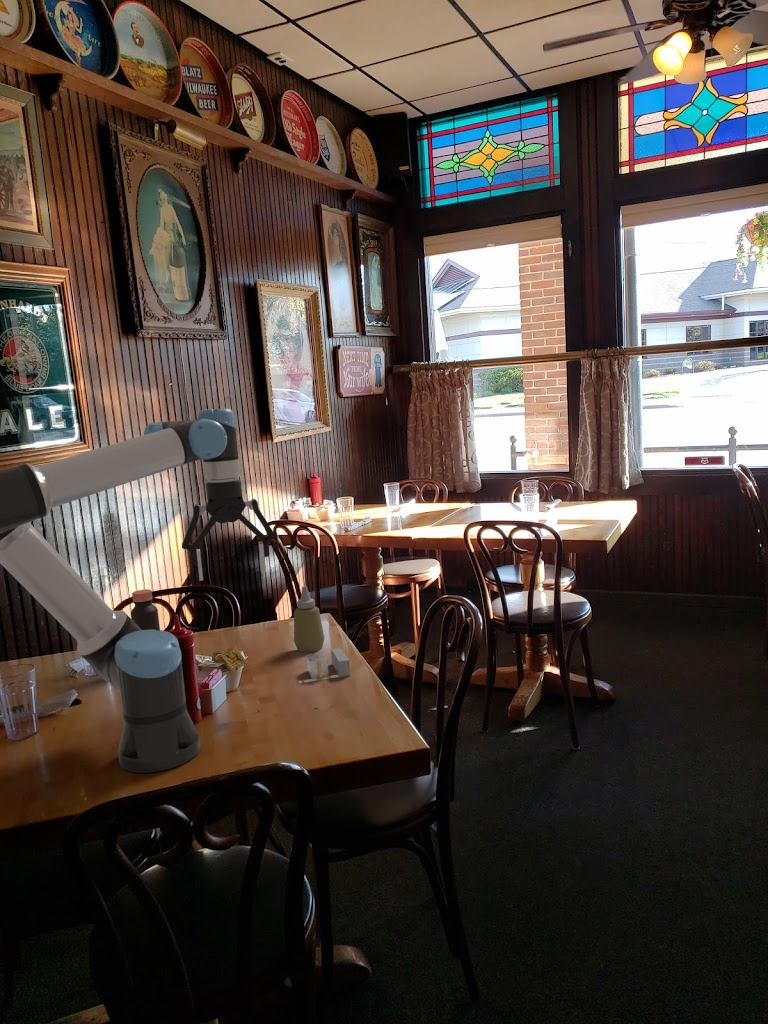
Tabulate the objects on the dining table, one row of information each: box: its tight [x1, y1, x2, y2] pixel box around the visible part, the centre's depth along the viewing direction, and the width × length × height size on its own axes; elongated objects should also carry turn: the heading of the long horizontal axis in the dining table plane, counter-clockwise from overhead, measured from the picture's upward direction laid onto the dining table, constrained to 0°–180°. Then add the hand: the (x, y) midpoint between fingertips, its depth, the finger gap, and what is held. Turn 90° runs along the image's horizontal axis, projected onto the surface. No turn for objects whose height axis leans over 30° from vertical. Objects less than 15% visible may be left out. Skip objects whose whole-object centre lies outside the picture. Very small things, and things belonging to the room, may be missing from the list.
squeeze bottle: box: [293, 586, 325, 653], centre depth 200 cm, size 8×8×18 cm
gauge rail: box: [298, 647, 351, 684], centre depth 181 cm, size 10×15×5 cm, turn 105°
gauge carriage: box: [305, 652, 330, 679], centre depth 180 cm, size 7×4×4 cm, turn 15°
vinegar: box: [130, 588, 161, 631], centre depth 199 cm, size 7×7×20 cm
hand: (232, 575), depth 168 cm, fingers open, 13 cm apart
